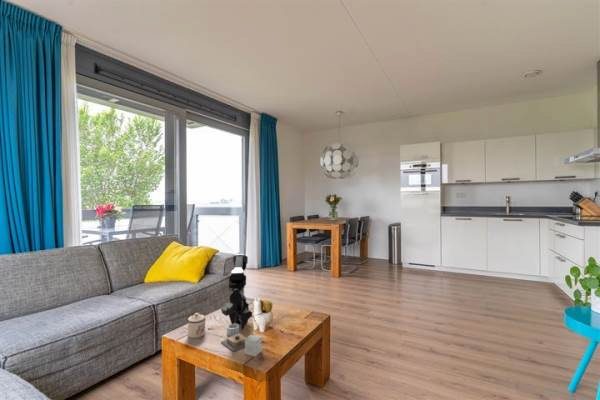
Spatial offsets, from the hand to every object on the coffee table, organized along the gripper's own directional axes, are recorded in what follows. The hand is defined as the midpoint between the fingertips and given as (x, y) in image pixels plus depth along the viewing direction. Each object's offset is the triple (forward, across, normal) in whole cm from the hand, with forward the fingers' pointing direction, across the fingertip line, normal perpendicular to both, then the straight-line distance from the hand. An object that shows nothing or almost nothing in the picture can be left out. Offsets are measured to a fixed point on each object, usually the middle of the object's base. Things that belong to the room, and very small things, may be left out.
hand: (237, 326), depth 150 cm
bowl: (+8, -11, +4) cm, 15 cm away
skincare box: (+9, +13, +1) cm, 16 cm away
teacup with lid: (+9, -24, -10) cm, 28 cm away
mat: (+8, 0, 0) cm, 9 cm away
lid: (+8, 0, 0) cm, 8 cm away
